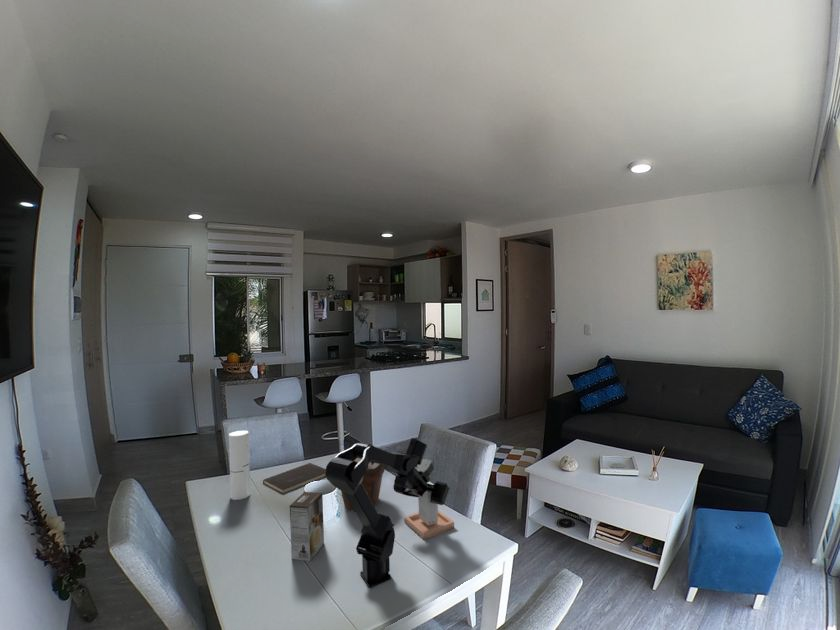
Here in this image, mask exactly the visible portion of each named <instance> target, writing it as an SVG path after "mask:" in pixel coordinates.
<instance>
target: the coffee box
mask: <svg viewBox="0 0 840 630" xmlns="http://www.w3.org/2000/svg"><path fill="white" fill-rule="evenodd" d="M323 504H324V503H323V492H315V491H314V492H311V491H309V492H308V491H304V492H303V493H301V495H300V496H298V497H297V498H296V499H295V500H293V502H292V503H291V504H290V505H289V522H290V523H289V525H290V528H289V529H290V551H291V560H296V561H297V560H300V561H307V562H310V561H312V560H313V558H314V557H315V556H316V554H317V553H318V552H319V550H321V548H322V547H323V545H324V544H325V536H324V535H325V531H324V527H325V526H324V507H323V506H324V505H323Z"/></svg>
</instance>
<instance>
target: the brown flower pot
mask: <svg viewBox="0 0 840 630" xmlns="http://www.w3.org/2000/svg"><path fill="white" fill-rule="evenodd" d="M361 460H362V459H360V458H357V459H355V460H354V461H357V462H358V463H359V462H360V461H361ZM385 471H386V470H385V469H384V468H383V466H382V465H381V464H378V463H374V462H371V461H370V462H369V464H368V469H367V472H366V473H365V474H364V475H363V479H362V485H363V487H364V488H365V490H366V492H367V494H368V496H369V498H370V499H371V501H372V503H373V505H374V507H375V506H376V505H377V504H378V503H379V499H380V493H381V486H382V479H383V475H384V473H385ZM340 491H341V490H340ZM340 493H341V496H342V497H341V498H342V500H343V505H344V506H345V508H346V509H349V510H352V511H354V509H353V508H352V506H351V504H350V503H349V501H348V499H347V498H346V496H345V494H344V493H343V492H342V491H341V492H340Z"/></svg>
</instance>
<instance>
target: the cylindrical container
mask: <svg viewBox="0 0 840 630" xmlns="http://www.w3.org/2000/svg"><path fill="white" fill-rule="evenodd" d="M249 434H250V433H249V430H236V431H232V432H230V433H229V434H228V449H229V451H228V452H229V454H228V455H229V483H230V484H229V485H230V499H231V500H233V501H239V500H243V499H246V498H249V496H250V495H251V472H250V471H251V470H250V467H251V466H250V464H251V463H250V435H249Z"/></svg>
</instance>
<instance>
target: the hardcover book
mask: <svg viewBox="0 0 840 630" xmlns="http://www.w3.org/2000/svg"><path fill="white" fill-rule="evenodd" d="M325 472H326V468H324V467H322V466H319V465H316V464H314V463H312V462H309V463H306V464H303V465H300V466H298V467H295V468H292V469H288V470H286V471H283V472H281V473H277V474H275V475H273V476H270V477H267V478H264V479H263V480H262V484H265V485H267V486H268V487H271V488H272V489H273V490H276V491H278V492H280V493H282V494H284V493H287V492H289V491H292V490H295V489H296V488H300V487H302V486H304V485H307V484H309V482H310V483H312V482H314V481H317V480H319V479H322V478H324V477H325V478H326V476H325Z"/></svg>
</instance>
